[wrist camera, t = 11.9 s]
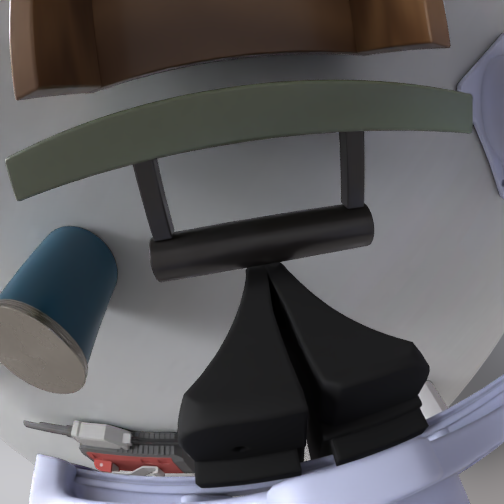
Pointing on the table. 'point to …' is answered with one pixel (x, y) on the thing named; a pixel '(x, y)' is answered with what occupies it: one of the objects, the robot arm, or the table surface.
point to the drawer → (223, 107)
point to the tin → (56, 310)
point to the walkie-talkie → (125, 448)
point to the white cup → (431, 400)
